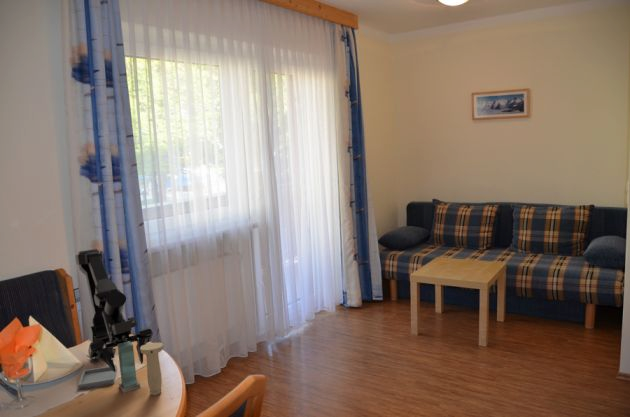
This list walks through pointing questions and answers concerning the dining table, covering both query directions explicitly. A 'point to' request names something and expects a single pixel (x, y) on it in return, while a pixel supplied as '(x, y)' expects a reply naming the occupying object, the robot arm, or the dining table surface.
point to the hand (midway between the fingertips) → (128, 367)
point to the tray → (97, 377)
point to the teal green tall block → (127, 367)
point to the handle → (153, 366)
